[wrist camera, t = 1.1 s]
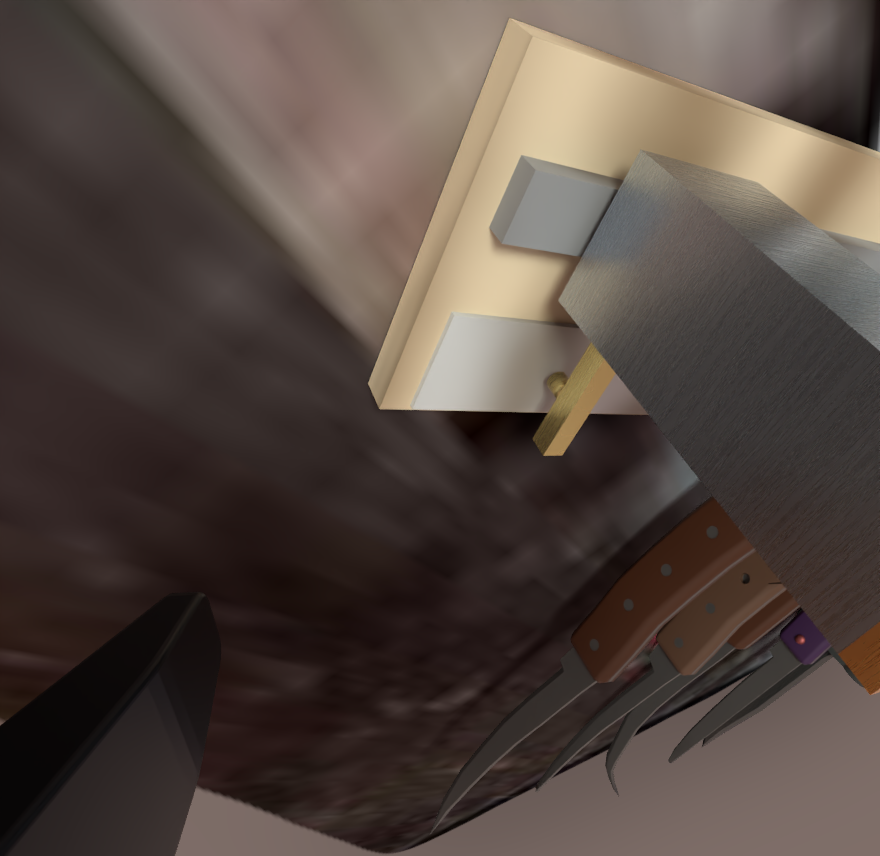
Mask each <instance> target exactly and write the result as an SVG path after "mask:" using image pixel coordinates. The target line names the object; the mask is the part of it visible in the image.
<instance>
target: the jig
mask: <svg viewBox="0 0 880 856" xmlns="http://www.w3.org/2000/svg"><path fill="white" fill-rule="evenodd" d="M640 150H645V151H648V152H652V153H656V154H659V155H663V156H666V157H670V158H673V159H677V160H680V161H684V162H688V163H691V164H695V165H698V166H702V167H705V168H709V169H712V170H716V171H719V172H723V173H727V174H730V175H734V176H737V177H741V178H744V179H748V180H751V181H755V182H758V183H759V184H761V185H762V186H763V187H765V188H766V189H767V190H769V191H770V192H771V193H773V194H774V195H775V196H777V197H778V198H779V199H781V200H782V201H783V202H785V203H786V204H787V205H789V206H790V207H791V208H793V209H794V210H795V211H797V212H798V213H799V214H801V215H802V216H803V217H805V218H806V219H807V220H808V221H810V222H811V223H812V224H814V225H815V226H816V227H818V228H819V229H820V230H822V231H823V232H824V233H826V234H827V235H828V236H830V237H831V238H832V239H834V240H835V241H836V242H838V243H839V244H840V245H842V246H843V247H844V248H846V249H847V250H848V251H850V252H851V253H852V254H854V255H855V256H856V257H858V258H859V259H860V260H862V261H863V262H864V263H866V264H867V265H868V266H870V267H871V268H872V269H874V270H875V271H876V272H878V273H879V274H880V152H877V151H874V150H872V149H869V148H866V147H863V146H861V145H858V144H855V143H852V142H850V141H847V140H844V139H841V138H839V137H836V136H833V135H830V134H828V133H825V132H822V131H819V130H817V129H814V128H811V127H808V126H806V125H803V124H800V123H797V122H795V121H792V120H789V119H786V118H784V117H781V116H778V115H775V114H773V113H770V112H767V111H764V110H762V109H759V108H756V107H753V106H751V105H748V104H745V103H742V102H740V101H737V100H734V99H731V98H729V97H726V96H723V95H720V94H718V93H715V92H712V91H709V90H707V89H704V88H701V87H698V86H696V85H693V84H690V83H687V82H685V81H682V80H679V79H676V78H674V77H671V76H668V75H665V74H663V73H660V72H657V71H654V70H652V69H649V68H646V67H643V66H641V65H638V64H635V63H632V62H630V61H627V60H624V59H621V58H619V57H616V56H613V55H610V54H608V53H605V52H602V51H599V50H597V49H594V48H591V47H588V46H586V45H583V44H580V43H577V42H575V41H572V40H569V39H566V38H564V37H561V36H558V35H555V34H553V33H550V32H547V31H544V30H542V29H539V28H536V27H533V26H531V25H528V24H525V23H522V22H520V21H517V20H514V19H511V18H509V21H508V23H507V26H506V28H505V31H504V33H503V36H502V39H501V41H500V44H499V46H498V49H497V52H496V54H495V57H494V59H493V62H492V64H491V67H490V70H489V72H488V75H487V77H486V80H485V83H484V85H483V88H482V90H481V93H480V95H479V98H478V101H477V103H476V106H475V108H474V111H473V114H472V116H471V119H470V121H469V124H468V126H467V129H466V132H465V134H464V137H463V139H462V142H461V145H460V147H459V150H458V152H457V155H456V157H455V160H454V163H453V165H452V168H451V170H450V173H449V176H448V178H447V181H446V183H445V186H444V188H443V191H442V194H441V196H440V199H439V201H438V204H437V207H436V209H435V212H434V214H433V217H432V219H431V222H430V225H429V227H428V230H427V232H426V235H425V238H424V240H423V243H422V245H421V248H420V250H419V253H418V256H417V258H416V261H415V263H414V266H413V269H412V271H411V274H410V276H409V279H408V282H407V284H406V287H405V289H404V292H403V294H402V297H401V300H400V302H399V305H398V307H397V310H396V313H395V315H394V318H393V320H392V323H391V325H390V328H389V331H388V333H387V336H386V338H385V341H384V344H383V346H382V349H381V351H380V354H379V356H378V359H377V362H376V364H375V367H374V369H373V372H372V375H371V377H370V380H369V382H368V385H369V387H370V389H371V391H372V394H373V396H374V398H375V400H376V403H377V405H378V407H379V409H402V410H447V411H493V412H538V413H548V412H549V410H550V408H551V407H552V405H553V403H554V402H555V400H556V398H555V396H554V395H553V393H552V392H551V390H550V389H549V387H548V386H547V380H548V379H549V377H550V376H551V375H553V374H554V373H556V372H564V373H565V374H566V375H567V376H568V378H569V377H570V375H571V374H572V372H573V371H574V369H575V367H576V366H577V364H578V362H579V361H580V359H581V357H582V356H583V354H584V352H585V351H586V349H587V347H588V346H589V344H590V343H591V341H590V340H589V339H588V338H587V336H586V335H585V334H584V333H583V331H582V330H581V329H580V327H579V326H578V325H577V324H576V322H575V321H574V320H573V319H572V317H571V316H570V315H569V314H568V312H567V311H566V310H565V309H564V307H563V306H562V305H561V303H560V302H559V301H558V300H559V298H560V296H561V294H562V292H563V290H564V289H565V287H566V285H567V283H568V281H569V280H570V278H571V276H572V274H573V272H574V270H575V269H576V267H577V265H578V263H579V261H580V259H581V258H582V256H583V254H584V252H585V250H586V248H587V247H588V245H589V243H590V241H591V239H592V238H593V236H594V234H595V232H596V230H597V228H598V227H599V225H600V223H601V221H602V219H603V217H604V216H605V214H606V212H607V210H608V208H609V206H610V205H611V203H612V201H613V199H614V197H615V196H616V194H617V192H618V190H619V188H620V186H621V185H622V183H623V181H624V179H625V177H626V175H627V174H628V172H629V170H630V168H631V166H632V164H633V163H634V161H635V159H636V157H637V155H638V154H639V152H640ZM590 414H629V415H648V413H647V412H646V411H645V410H644V408H643V407H642V406H641V405H640V403H639V402H638V401H637V400H636V398H635V397H634V396H633V394H632V393H631V392H630V391H629V389H628V388H627V387H626V386H625V384H624V383H623V382H622V381H621V379H620V378H619V377H618V376H617V374H615V376H614V377H613V379H612V380H611V382H610V383H609V385H608V386H607V388H606V389H605V391H604V392H603V394H602V395H601V397H600V399H599V400H598V402H597V403H596V405H595V406H594V408H593V409H592V411H591V412H590Z"/></svg>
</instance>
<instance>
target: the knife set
mask: <svg viewBox="0 0 880 856" xmlns="http://www.w3.org/2000/svg"><path fill="white" fill-rule="evenodd" d="M799 607H800V606H799V604H798V603H797V602H796V600H795V599H794V598H793V597H792V595H791V594H790V593H789V592H788V590H787V589H786V588H785V587H784V585H783V584H782V583H781V582H780V580H779V579H778V578H777V576H776V575H775V574H774V573H773V571H772V570H771V569H770V568H769V566H768V565H767V564H766V563H765V561H764V560H763V559H762V558H761V556H760V555H759V554H758V552H757V551H756V550H755V549H754V547H753V546H752V545H751V544H750V542H749V541H748V540H747V539H746V537H745V536H744V535H743V533H742V532H741V531H740V530H739V528H738V527H737V526H736V525H735V523H734V522H733V521H732V520H731V518H730V517H729V516H728V515H727V513H726V512H725V511H724V509H723V508H722V507H721V506H720V504H719V503H718V502H717V501H716V499H715V498H714V497H713V496H712V497H710V498H709V499H708V500H707V501H705V502H704V503H703V504H701V505H700V506H699V507H698V508H696V509H695V510H694V511H692V512H691V513H690V514H689V515H687V516H686V517H685V518H684V519H683V520H681V521H680V522H679V523H678V524H677V525H676V526H675V527H673V528H672V529H671V530H670V531H669V532H668V533H667V534H666V535H664V536H663V537H662V538H661V539H660V540H659V541H658V542H657V543H655V544H654V545H653V546H652V547H651V548H650V549H649V550H648V551H647V552H646V553H645V554H643V555H642V556H641V557H640V558H639V559H638V560H637V561H636V562H635V563H634V564H633V565H632V566H631V567H630V568H629V569H628V570H626V571H625V572H624V573H623V574H622V575H621V576H620V577H619V579H618V580H617V581H616V582H615V584H614V585H613V586H612V587H611V588H610V590H609V591H608V592H607V593H606V595H605V596H604V597H603V598H602V599H601V601H600V602H599V603H598V604H597V606H596V607H595V608H594V609H593V610H592V611H591V613H590V614H589V615H588V616H587V617H586V618H585V619H584V621H583V622H582V623H581V624H580V625H579V626H578V628H577V629H576V630H575V631H574V632H573V634H572V637H571V643H572V644H573V646H574V647H573V648H572V649H571V650H570V651H569V652H568V653H567V654H566V655H565V656H563V657H562V658H561V659H560V660H561V663H562V667H563V668H561V669H560V670H559V671H558V672H557V673H555V674H554V675H553V676H552V677H551V678H550V679H548V680H547V681H546V682H545V683H544V684H543V685H541V686H540V687H539V688H538V689H537V690H535V691H534V692H533V693H532V694H531V695H530V696H528V697H527V698H526V699H525V700H524V701H523V702H522V703H521V704H520V705H519V706H517V707H516V708H515V709H514V710H513V711H512V712H511V713H510V714H509V715H508V716H506V717H505V718H504V719H503V720H502V722H501V723H500V724H499V725H498V726H497V727H496V728H495V730H494V731H493V732H492V733H491V734H490V735H489V736H488V738H487V739H486V740H485V741H484V742H483V743H482V745H481V746H480V747H479V748H478V749H477V751H476V752H475V753H474V754H473V755H472V757H471V758H470V759H469V760H468V762H467V763H466V764H465V765H464V766H463V768H462V769H461V770H460V772H459V774H458V775H457V777H456V779H455V780H454V782H453V784H452V785H451V787H450V789H449V790H448V792H447V793H446V795H445V797H444V799H443V801H442V804H441V807H440V809H439V812H438V815H437V817H436V820H435V823H434V825H433V828H432V830H431V833H432V832H433V830H434V829H435V828H436V827H437V826H438V824H439V823H440V822H441V821H442V819H443V818H444V817H445V816H446V815H447V813H448V812H449V811H450V810H451V809H452V808H453V807H454V806H455V804H456V803H457V802H458V801H459V800H460V799H461V798H462V797H463V796H464V795H465V794H466V793H467V792H468V791H469V790H470V789H471V787H472V786H473V785H475V784H476V783H477V782H478V781H479V780H480V779H481V778H482V777H483V776H484V775H485V774H486V773H487V772H488V771H489V770H490V769H491V768H492V767H493V766H494V765H495V764H496V763H497V762H498V761H499V760H500V759H501V758H502V757H504V756H505V755H506V754H507V753H508V752H509V751H510V750H511V749H512V748H514V747H515V746H516V745H517V744H518V743H519V742H521V741H522V740H523V739H524V738H526V737H527V736H528V735H530V734H531V733H532V732H534V731H535V730H536V729H537V728H539V727H540V726H541V725H543V724H544V723H545V722H546V721H548V720H549V719H550V718H551V717H553V716H554V715H555V714H556V713H558V712H559V711H560V710H561V709H563V708H564V707H565V706H566V705H568V704H569V703H570V702H571V701H573V700H574V699H575V698H576V697H578V696H579V695H580V694H582V693H583V692H584V691H586V690H587V689H588V688H590V687H591V686H592V685H594V684H595V683H596V682H599V683H604V682H613V681H614V680H615V679H616V678H617V677H618V676H619V675H620V674H621V673H622V672H623V671H624V670H625V669H626V668H627V667H628V665H629V664H630V663H631V662H632V661H633V660H634V659H635V658H636V657H637V656H638V655H639V653H640V652H641V651H642V650H643V649H644V648H645V647H646V645H647V644H648V643H649V642H650V641H651V640H652V638H653V637H654V636H655V635H656V634H657V636H656V640H657V642H658V643H659V644H658V645H657V646H656V648H655V649H654V650H653V652H652V653H651V654H650V655H649V658H650V661H651V664H652V667H653V669H652V670H651V671H649V672H648V673H647V674H646V675H644V676H643V677H642V678H640V679H639V680H638V681H637V682H635V683H634V684H633V685H631V686H630V687H629V688H628V689H626V690H625V691H624V692H622V693H621V694H620V695H619V696H617V697H616V698H615V699H614V700H613V701H611V702H610V703H609V704H608V705H607V706H606V707H604V708H603V709H602V710H601V711H600V712H598V713H597V714H596V715H595V716H594V717H593V718H592V719H591V720H590V721H589V722H588V723H587V724H586V725H585V726H584V727H583V728H582V729H581V730H580V731H579V732H578V733H577V734H576V735H575V736H574V737H573V739H572V740H571V741H570V742H569V743H568V745H567V746H566V747H565V748H564V749H563V750H562V752H561V753H560V754H559V755H558V756H557V757H556V759H555V760H554V761H553V763H552V764H551V766H550V767H549V768H548V770H547V771H546V772H545V774H544V775H543V777H542V778H541V779H540V781H539V782H538V784H537V785H536V787H535V788H536V792H538V791H539V790H540V789H541V788H542V787H543V786H544V785H545V784H546V783H547V782H548V781H549V780H550V779H551V778H552V777H553V776H554V775H555V774H556V773H557V772H558V771H559V770H560V769H561V768H562V767H563V766H564V765H565V764H566V763H567V762H569V761H570V760H571V759H572V758H573V757H574V756H575V755H576V754H577V753H578V752H579V751H580V750H581V749H582V748H584V747H585V746H586V745H587V744H588V743H590V742H591V741H592V740H593V739H594V738H595V737H597V736H598V735H599V734H600V733H601V732H603V731H604V730H605V729H606V728H608V727H609V726H610V725H612V724H613V723H615V722H616V721H617V720H619V719H620V718H621V717H623V716H624V715H626V716H625V718H624V720H623V722H622V724H621V726H620V728H619V730H618V732H617V734H616V736H615V738H614V740H613V742H612V744H611V746H610V748H609V750H608V752H607V757H606V769H607V773H608V777H609V780H610V782H611V784H612V787H613V789H614V790H615V792H616V793H617V795H618V791H617V788H616V785H615V781H614V774H613V770H614V768H615V766H616V763H617V761H618V760H619V758H620V757H621V755H622V753H623V752H624V750H625V749H626V747H627V745H628V744H629V742H630V741H631V739H632V738H633V736H634V735H635V733H636V732H637V730H638V729H639V728H640V727H641V726H642V725H643V724H644V723H645V722H646V720H647V719H648V718H649V717H650V716H651V715H652V714H653V713H654V712H655V711H656V710H657V709H658V708H659V707H661V706H662V705H663V704H664V703H665V702H667V701H668V700H669V699H670V698H672V697H673V696H674V695H675V694H676V693H678V692H679V691H680V690H681V689H683V688H684V687H685V686H686V685H688V684H689V683H690V682H692V681H693V680H694V679H696V678H697V677H699V676H700V675H701V674H703V673H704V672H705V671H707V670H708V669H709V668H711V667H712V666H714V665H715V664H716V663H718V662H719V661H720V660H722V659H723V658H724V657H725V656H727V655H728V654H729V653H730V652H732V651H733V650H734V649H735V648H736V649H748V648H749V647H750V646H751V645H753V644H754V643H755V642H756V641H758V640H759V639H760V638H762V637H763V636H764V635H765V634H767V633H768V632H769V631H770V630H772V629H773V628H774V627H776V626H777V625H778V624H779V623H781V622H782V621H783V620H784V619H786V618H787V617H788V616H789V615H791V614H792V613H793V612H794V611H796V610H797V609H798V608H799ZM780 638H781V641H780V642H778V643H777V644H776V645H775V646H773V647H772V648H771V649H770V651H771V653H772V655H773V657H772V658H771V659H769V660H768V661H767V662H766V663H764V664H763V665H762V666H761V667H759V668H758V669H757V670H755V671H754V672H753V673H752V674H750V675H749V676H748V677H747V678H745V679H744V680H743V681H742V682H741V683H740V684H739V685H738V686H737V687H735V688H734V689H733V690H732V691H731V692H730V693H729V694H728V695H726V696H725V697H724V698H723V699H722V700H721V701H720V702H719V703H718V704H717V705H716V706H714V707H713V708H712V709H711V710H710V711H709V712H708V713H707V714H706V715H705V716H704V717H703V718H702V719H701V720H700V721H699V722H698V723H697V724H696V725H695V726H694V727H693V728H692V729H691V730H690V731H689V732H688V733H687V735H686V736H685V737H684V738H683V739H682V741H681V742H680V743H679V744H678V746H677V747H676V748H675V749H674V751H673V753H672V755H671V756H670V758H669V762H670V763H672V762H674V761H675V760H677V759H678V758H679V757H680V756H682V755H683V754H684V753H686V752H687V751H688V750H690V749H691V748H692V747H694V746H695V745H696V744H698V743H699V742H700V741H701V740H703V739H704V740H703V745H702V747H703V746H705V745H706V744H708V743H709V742H711V741H712V740H714V739H715V738H717V737H718V736H720V735H722V734H723V733H725V732H726V731H728V730H730V729H732V728H733V727H735V726H736V725H738V724H740V723H742V722H743V721H745V720H747V719H748V718H750V717H752V716H753V715H755V714H757V713H758V712H760V711H762V710H763V709H764V708H766V707H767V706H768V705H770V704H771V703H772V702H774V701H775V700H776V699H778V698H779V697H780V696H782V695H783V694H784V693H786V692H787V691H788V690H790V689H791V688H792V687H794V686H795V685H796V684H798V683H799V682H800V681H802V680H803V679H804V678H806V677H807V676H808V675H810V674H811V673H812V672H813V671H815V670H816V669H817V668H819V667H820V666H821V665H823V664H824V663H825V662H827V661H828V660H829V659H831V658H832V657H834V658H835V659H836V660H837V661H838V662H839V663H840V664H841V665H842V666H843V667H844V669H845V670H846V672H847V673H848V674H849V676H850V677H851V678H852V679H853V680H854V681H855V682H857V683H858V684H859V685H860V686H862V687H864V686H863V685H862V684H861V683H860V681H859V680H858V679H857V678H856V676H855V675H854V674H853V673H852V671H851V670H850V669H849V667H848V666H847V665H846V664H845V662H844V661H843V660H842V659H841V657H840V656H839V655H838V654H837V652H836V651H835V650H834V648H833V647H832V646H831V645H830V643H829V642H828V641H827V640H826V638H825V637H824V636H823V635H822V633H821V632H820V631H819V630H818V628H817V627H816V626H815V624H814V623H813V622H812V621H811V619H810V618H809V617H808V616H807V614H806V613H805V612H804V611H803V609H802V610H800V611H799V612H798V613H797V615H796V616H795V617H794V618H793V619H792V620H791V621H790V622H789V623H788V624H787V625H786V626H785V627H784V628H783V629H782V630H781V632H780ZM431 833H430V834H431Z"/></svg>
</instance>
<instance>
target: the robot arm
mask: <svg viewBox="0 0 880 856" xmlns="http://www.w3.org/2000/svg"><path fill="white" fill-rule="evenodd" d="M220 660H221V642H220V637H219V633H218V630H217V627H216V623H215V620H214V617H213V613H212V610H211V607H210V603H209V600H208V598H207V596H206V595H205V594H204V593H202V592H186V593H172V594H169V595H168V596H166V597H164V598H163V599H162V600H160V601H159V602H158V603H156V604H155V605H154V606H153V607H151V608H150V609H149V610H148V611H146V612H145V613H144V614H142V615H141V616H140V617H139V618H137V619H136V620H135V621H133V622H132V623H131V624H130V625H128V626H127V627H126V628H125V629H123V630H122V631H121V632H119V633H118V634H117V635H116V636H114V637H113V638H112V639H110V640H109V641H108V642H107V643H105V644H104V645H103V646H102V647H100V648H99V649H98V650H96V651H95V652H94V653H93V654H91V655H90V656H89V657H87V658H86V659H85V660H84V661H82V662H81V663H80V664H79V665H77V666H76V667H75V668H73V669H72V670H71V671H70V672H68V673H67V674H66V675H64V676H63V677H62V678H61V679H59V680H58V681H57V682H56V683H54V684H53V685H52V686H50V687H49V688H48V689H47V690H45V691H44V692H43V693H41V694H40V695H39V696H38V697H36V698H35V699H34V700H33V701H31V702H30V703H29V704H27V705H26V706H25V707H24V708H22V709H21V710H20V711H19V712H17V713H16V714H15V715H13V716H12V717H11V718H10V719H8V720H7V721H6V722H4V723H3V724H2V725H1V726H0V856H175V854H176V850H177V847H178V844H179V841H180V837H181V834H182V831H183V828H184V825H185V821H186V818H187V815H188V811H189V808H190V805H191V802H192V799H193V795H194V792H195V788H196V785H197V781H198V777H199V773H200V768H201V763H202V758H203V753H204V748H205V742H206V737H207V731H208V726H209V721H210V715H211V710H212V704H213V699H214V693H215V688H216V683H217V677H218V672H219V666H220Z"/></svg>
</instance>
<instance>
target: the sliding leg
mask: <svg viewBox="0 0 880 856" xmlns="http://www.w3.org/2000/svg"><path fill="white" fill-rule="evenodd" d="M558 301H559V302H560V303H561V305H562V306H563V307H564V309H565V310H566V311H567V312H568V314H569V315H570V316H571V317H572V319H573V320H574V321H575V322H576V324H577V325H578V326H579V327H580V329H581V330H582V331H583V333H584V334H585V335H586V336H587V338H588V339H589V340H590V341H591V343H590V344H589V346H588V347H587V349H586V351H585V352H584V354H583V356H582V357H581V359H580V361H579V362H578V364H577V366H576V367H575V369H574V371H573V372H572V374H571V375H570V377H569V378H568V376H567V375H566V374H565V373H564V372H556V373H554V374H553V375H551V376H550V377H549V379H548V380H547V386H548V387H549V389H550V390H551V392H552V393H553V395H554V396H555V398H556V400H555V402H554V403H553V405H552V407H551V408H550V410H549V412H548V413H547V415H546V417H545V418H544V420H543V422H542V423H541V425H540V427H539V428H538V430H537V432H536V433H535V435H534V436H533V438H532V439H533V440H534V442H535V444H536V445H537V447H538V448H539V450H540V452H541V453H542V455H543V456H556V455H563V453H564V452H565V450H566V449H567V447H568V446H569V444H570V443H571V441H572V440H573V438H574V437H575V435H576V434H577V432H578V431H579V429H580V428H581V426H582V424H583V423H584V421H585V420H586V418H587V417H588V415H589V414H590V412H591V411H592V409H593V408H594V406H595V405H596V403H597V402H598V400H599V399H600V397H601V395H602V394H603V392H604V391H605V389H606V388H607V386H608V385H609V383H610V382H611V380H612V379H613V377H614V376H615V374H617V376H618V377H619V378H620V379H621V381H622V382H623V383H624V384H625V386H626V387H627V388H628V389H629V391H630V392H631V393H632V394H633V396H634V397H635V398H636V400H637V401H638V402H639V403H640V405H641V406H642V407H643V408H644V410H645V411H646V412H647V413H648V415H649V416H650V417H651V418H652V420H653V421H654V422H655V424H656V425H657V426H658V427H659V429H660V430H661V431H662V432H663V434H664V435H665V436H666V437H667V439H668V440H669V441H670V443H671V444H672V445H673V446H674V448H675V449H676V450H677V451H678V453H679V454H680V455H681V456H682V458H683V459H684V460H685V461H686V463H687V464H688V465H689V467H690V468H691V469H692V470H693V472H694V473H695V474H696V475H697V477H698V478H699V479H700V480H701V482H702V483H703V484H704V485H705V487H706V488H707V489H708V491H709V492H710V493H711V494H712V496H713V497H714V498H715V499H716V501H717V502H718V503H719V504H720V506H721V507H722V508H723V509H724V511H725V512H726V513H727V515H728V516H729V517H730V518H731V520H732V521H733V522H734V523H735V525H736V526H737V527H738V528H739V530H740V531H741V532H742V533H743V535H744V536H745V537H746V539H747V540H748V541H749V542H750V544H751V545H752V546H753V547H754V549H755V550H756V551H757V552H758V554H759V555H760V556H761V558H762V559H763V560H764V561H765V563H766V564H767V565H768V566H769V568H770V569H771V570H772V571H773V573H774V574H775V575H776V576H777V578H778V579H779V580H780V582H781V583H782V584H783V585H784V587H785V588H786V589H787V590H788V592H789V593H790V594H791V595H792V597H793V598H794V599H795V600H796V602H797V603H798V604H799V606H800V607H801V608H802V609H803V611H804V612H805V613H806V614H807V616H808V617H809V618H810V619H811V621H812V622H813V623H814V624H815V626H816V627H817V628H818V630H819V631H820V632H821V633H822V635H823V636H824V637H825V638H826V640H827V641H828V642H829V643H830V645H831V646H832V647H833V648H834V650H835V651H836V652H837V654H838V655H839V656H840V657H841V659H842V660H843V661H844V662H845V664H846V665H847V666H848V667H849V669H850V670H851V671H852V673H853V674H854V675H855V676H856V678H857V679H858V680H859V681H860V683H861V684H862V685H863V686H864V688H865V689H866V690H867V691H868V693H869V694H870V695H872V694H875V693H879V692H880V274H879V273H878V272H876V271H875V270H874V269H872V268H871V267H870V266H868V265H867V264H866V263H864V262H863V261H862V260H860V259H859V258H858V257H856V256H855V255H854V254H852V253H851V252H850V251H848V250H847V249H846V248H844V247H843V246H842V245H840V244H839V243H838V242H836V241H835V240H834V239H832V238H831V237H830V236H828V235H827V234H826V233H824V232H823V231H822V230H820V229H819V228H818V227H816V226H815V225H814V224H812V223H811V222H810V221H808V220H807V219H806V218H805V217H803V216H802V215H801V214H799V213H798V212H797V211H795V210H794V209H793V208H791V207H790V206H789V205H787V204H786V203H785V202H783V201H782V200H781V199H779V198H778V197H777V196H775V195H774V194H773V193H771V192H770V191H769V190H767V189H766V188H765V187H763V186H762V185H761V184H759V183H758V182H755V181H751V180H748V179H744V178H741V177H737V176H734V175H730V174H727V173H723V172H719V171H716V170H712V169H709V168H705V167H702V166H698V165H695V164H691V163H688V162H684V161H680V160H677V159H673V158H670V157H666V156H663V155H659V154H656V153H652V152H648V151H645V150H640V152H639V154H638V155H637V157H636V159H635V161H634V163H633V164H632V166H631V168H630V170H629V172H628V174H627V175H626V177H625V179H624V181H623V183H622V185H621V186H620V188H619V190H618V192H617V194H616V196H615V197H614V199H613V201H612V203H611V205H610V206H609V208H608V210H607V212H606V214H605V216H604V217H603V219H602V221H601V223H600V225H599V227H598V228H597V230H596V232H595V234H594V236H593V238H592V239H591V241H590V243H589V245H588V247H587V248H586V250H585V252H584V254H583V256H582V258H581V259H580V261H579V263H578V265H577V267H576V269H575V270H574V272H573V274H572V276H571V278H570V280H569V281H568V283H567V285H566V287H565V289H564V290H563V292H562V294H561V296H560V298H559V300H558Z"/></svg>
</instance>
